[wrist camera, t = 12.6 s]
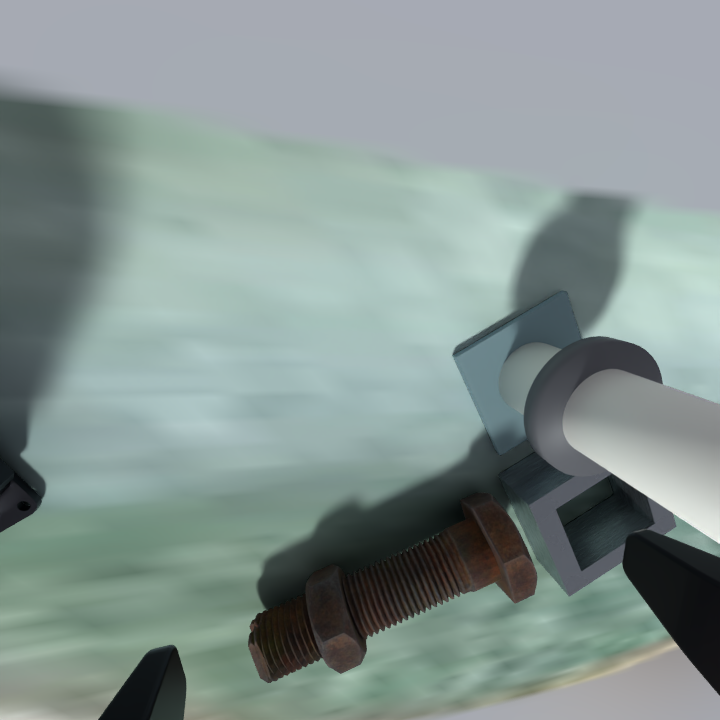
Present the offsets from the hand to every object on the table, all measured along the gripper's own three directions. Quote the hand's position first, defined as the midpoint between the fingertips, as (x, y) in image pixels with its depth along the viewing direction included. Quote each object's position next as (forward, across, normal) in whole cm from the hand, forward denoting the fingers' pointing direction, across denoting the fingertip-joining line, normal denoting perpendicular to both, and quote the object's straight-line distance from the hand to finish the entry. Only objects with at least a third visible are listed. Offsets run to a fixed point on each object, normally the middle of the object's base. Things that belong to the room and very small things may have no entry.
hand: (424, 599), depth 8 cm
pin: (+13, -11, +2) cm, 17 cm away
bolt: (+14, -2, +12) cm, 18 cm away
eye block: (+13, -15, +10) cm, 22 cm away
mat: (+13, -11, +2) cm, 18 cm away
